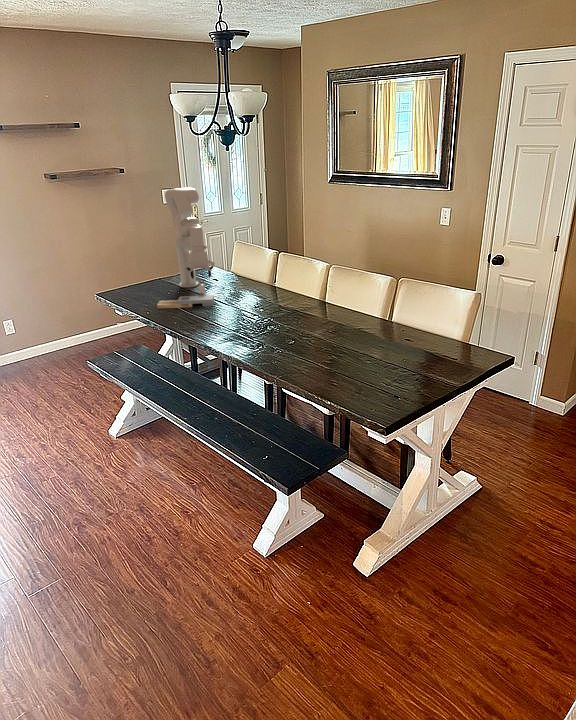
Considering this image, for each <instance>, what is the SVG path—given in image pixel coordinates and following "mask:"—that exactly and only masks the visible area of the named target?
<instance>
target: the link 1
mask: <svg viewBox="0 0 576 720" xmlns="http://www.w3.org/2000/svg"><path fill="white" fill-rule="evenodd" d="M177 301H178V299H170V300H169V299H168V300H159V301H158V302H157V304H156V308H157V309H160V310H161V309H176V308H177V309H178V308H182V309H183V308H193V306H194V304H178V302H177Z"/></svg>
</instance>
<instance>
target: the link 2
mask: <svg viewBox="0 0 576 720" xmlns="http://www.w3.org/2000/svg"><path fill="white" fill-rule="evenodd" d="M177 300H178V301H177V302H178V304H193V305H194V304H202V307H214V304H215V295H214V294H212V295H211V294H210V295H209V294H208V295H204V296H200V295H186V296H185V295H184V296H183V295H182V296H179V297H178V299H177Z"/></svg>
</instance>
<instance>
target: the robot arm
mask: <svg viewBox="0 0 576 720" xmlns="http://www.w3.org/2000/svg"><path fill="white" fill-rule="evenodd" d="M199 198H200V197H199V192H198V190H197V189H196V188H194V187H178V188H177V187H176V188H170V189H167V190H166V191H165V192H164V200H165V203H166V205H167V207H168V209H169V210H170V214H171V220H172V223H173V228H174V232H175V233H176V234H177V235H178V236H177V237H176V238H175V239H174V246H175V249H176V253H177V260H178V267H179V275H180V276H179V277H180V283H179V284H178V286H179V287H180V288H187V289H188V288H194V287H196V286H197V287H198V286H199V285H200V284H199V283H200V282H199V281H197V280H196V279H197V277H196V269H197V270H198V269H206V270H207V275H208V278H209V279H211V276H212V270H213V268H214V266H215V264H216V263H215V262H214V261H212V260H210V259H209V255H208V253H207V252H208V251H207V249H208V246H207V245H205V239H204V231H203V230H204V229H203V227H202V226H201V224H200V221H199V220H198V218H197V217H195V216H192V215H193V214H194V208H193V206H192V204H197V203H198V202H199ZM210 265H211V266H210Z"/></svg>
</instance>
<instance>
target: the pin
mask: <svg viewBox="0 0 576 720" xmlns="http://www.w3.org/2000/svg"><path fill="white" fill-rule="evenodd" d="M198 287H199V294H200V295H199V296H204V295H206V293H207V292H206V286H205V284H204V283H201V284H198Z"/></svg>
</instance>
